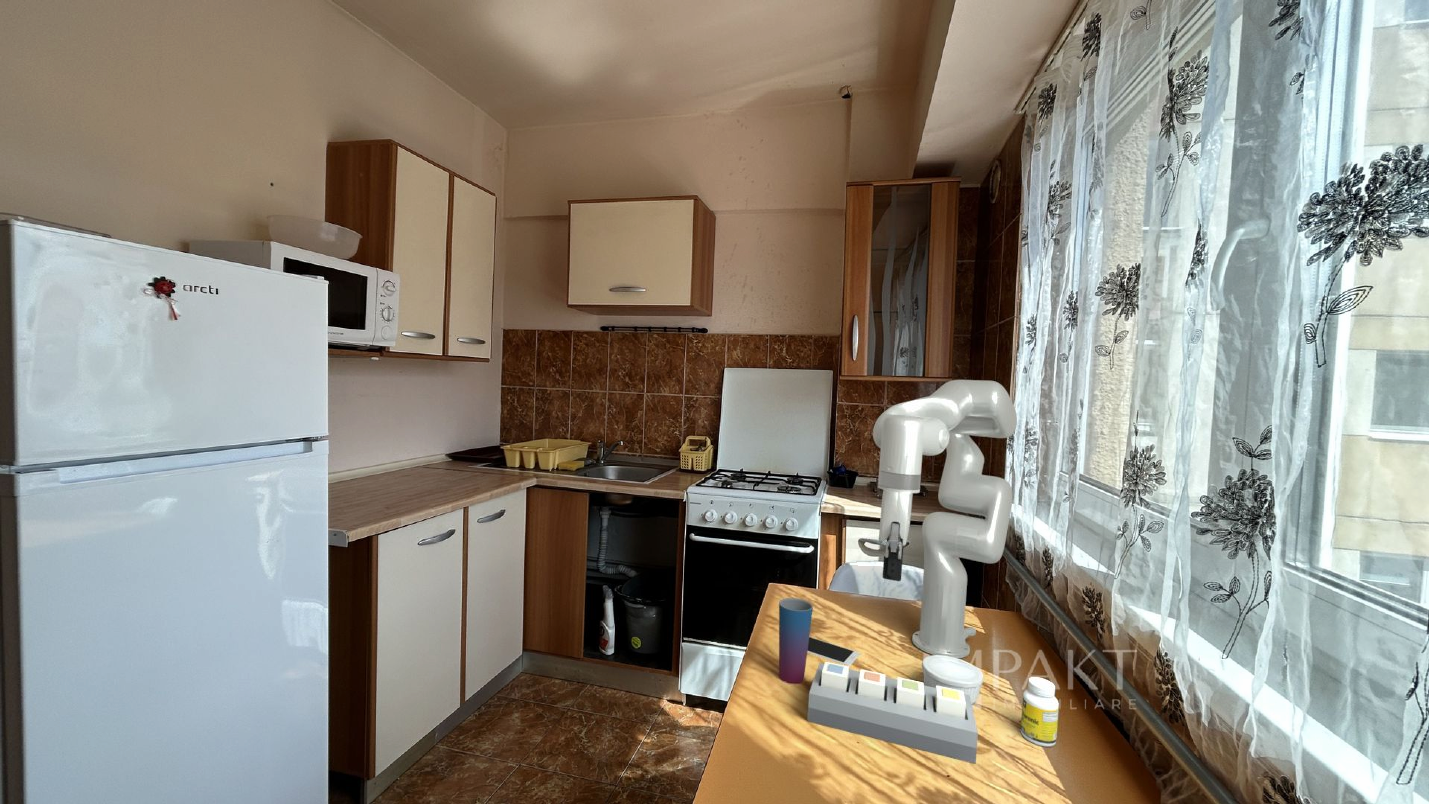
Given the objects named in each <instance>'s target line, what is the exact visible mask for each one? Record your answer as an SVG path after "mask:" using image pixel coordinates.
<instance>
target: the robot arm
mask: <svg viewBox="0 0 1429 804" xmlns="http://www.w3.org/2000/svg"><path fill="white" fill-rule="evenodd" d="M1017 423H1018V417H1017V412H1016V409H1015V406H1014V404H1013V402H1012V399H1011V397H1010V395H1009V393H1008V391H1007V390H1006V388H1005V387H1004V386H1003V385H1002V384H1001V383H999V382H997V381H994V380H979V379H977V380H975V379H974V380H973V379H953V380H949V381H946V382H945V383H944V384H943V385H941V386H940V387H939V388H938V389H937V390H936V391H934V392H933V393H932V394H930V395H929V396H924V397H920V398H916V399H913V400H908V401H904V402H901V403H896V404H894V405H892V406H890V407H889V408H888V409H886V410H885V411H883V412H882V413H881V414H880V415H879V417H878V418H877V419H876V420H875V423H874V426H873V431H872V436H873V441H874V443H875V445H876V446H877V447H878V448H879V449H880V453H879V467H878V483H877V488H878V489H881V490H883V491H882V497H881V506H880V507H881V508H880V521H879V532H878V533H879V535H878V542H879V543H880V544H883V542H884V543H885V544H886V545H885V554H884V556H883V565H882V579H884V580H890V581H897V582H901V580H902V572H903V571H902V570H903V558H904V557H903V556H904V547H905V546H906V545H907V541H908V536H909V531H910V527H911V526H910V524H911V518H912V517H911V515H912V507H913V494H919V493H920V492H921V491H920V490H921V480H922V479H921V478H922V477H921V476H922V463H923V456H928V457H929V456H937V455H939V454H941V453H943V452H944V450H945V449H946V457H945V463H944V467H943V470H942V476H941V479H940V482H939V487H938V495H937V496H938V497H937V498H938V502H939V504H940V505H941V506H942V507H943V508H945V509H948V510H951V511H955V512H959V513H964V514H970V515H977V516H982V517H984V518H978V517H973V516H967V515H964V514H958V513H952V512H945V511H935V512H931V513H930V514H927V515H926V516H925V518H924V519H923V522H922V527H921V532H922V533H921V534H922V543H923V579H922V589H921V590H922V591H921V605H920V618H919V619H920V620H919V621H920V622H919V630H918V631H915V632H914V633H913V634H912V637H911V638H912V639H911V641H912V643H913V645H914V646H915V647H917V648H918V649H919V650H921V651H923V652H924V653H927V654H929V655H931V656H933V655H943V656H949V657H954V658H957V659H962V658H967V657H968V656H969V654H970V651H971V648H970V647H971V646H970V645H969V643H968V642H966V640H967V638H969V637H972V636H976V634H977V630H976V628H975V627H973V626H971V627H970V626H968V627H965V617H966V602H967V586H968V574H967V571H966V568H965V567H964V564H963V562H962V561H961V560H960V558H962V559H966V560H970V561H976V562H981V563H984V564H995V563H998V562H999V561H1000V559H1001V558H1002V556H1003V553H1004V550H1005V545H1006V540H1007V535H1008V534H1007V533H1008V529H1009V523H1010V518H1011V514H1012V513H1011V511H1012V504H1013V490H1012V486H1011V484H1010V482H1008V480H1006V479H1004V478H1002V477H1000V476H992V475H985V474H982V473H983V469H984V464H985V457H984V454H983V453H982V451H981V449H980V448H979V446H978V445H977V444H976V443H975V441H974V440H973V439H972V437H970V436H974V437H985V438H986V437H987V438H996V439H1006V438H1009V437H1011V436H1012V435H1013V434H1014V433H1015V431H1016V428H1017Z"/></svg>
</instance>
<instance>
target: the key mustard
mask: <svg viewBox="0 0 1429 804" xmlns="http://www.w3.org/2000/svg"><path fill="white" fill-rule="evenodd" d="M935 706H936V713H940V714H944V715H948V716H953V717H957V718H962V719H965V710H966V702H965V697H964V692H963V691H960V690H956V689H951V688H946V687H942V686H937V685H936V697H935Z"/></svg>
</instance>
